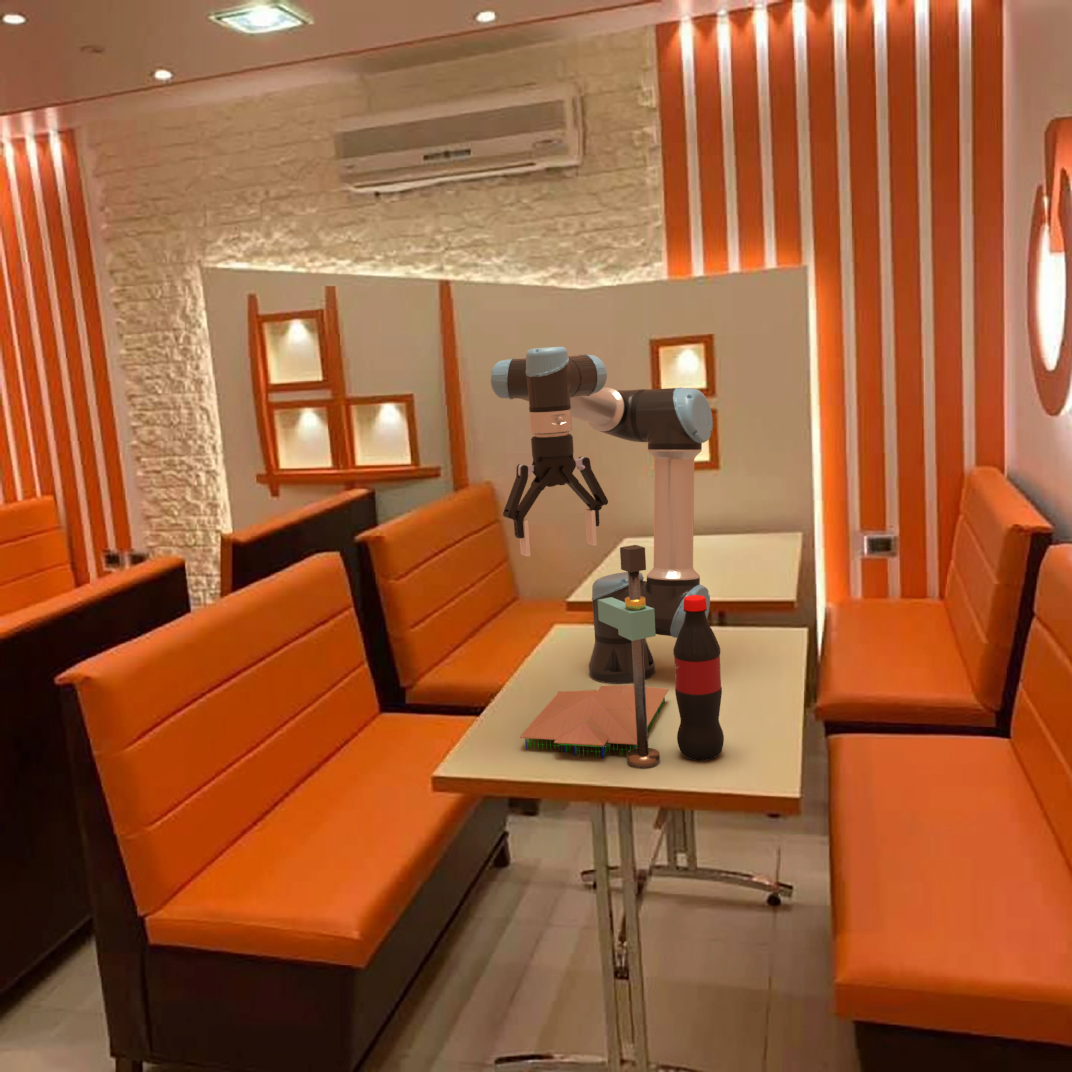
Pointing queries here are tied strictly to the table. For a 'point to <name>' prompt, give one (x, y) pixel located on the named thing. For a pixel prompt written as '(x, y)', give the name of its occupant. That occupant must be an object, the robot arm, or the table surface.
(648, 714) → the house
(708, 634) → the cola bottle
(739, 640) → the table surface
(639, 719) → the post stand
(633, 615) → the teal block with hole
